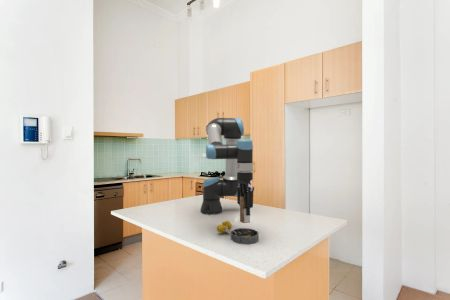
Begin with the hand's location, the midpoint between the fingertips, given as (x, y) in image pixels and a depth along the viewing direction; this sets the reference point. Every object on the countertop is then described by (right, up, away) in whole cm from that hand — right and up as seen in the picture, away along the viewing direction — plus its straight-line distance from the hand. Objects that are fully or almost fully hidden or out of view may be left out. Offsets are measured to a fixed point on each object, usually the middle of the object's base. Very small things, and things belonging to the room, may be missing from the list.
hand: (244, 220), depth 117 cm
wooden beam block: (0, -1, 0) cm, 1 cm away
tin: (0, -9, 0) cm, 9 cm away
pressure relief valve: (-7, -9, +7) cm, 13 cm away
